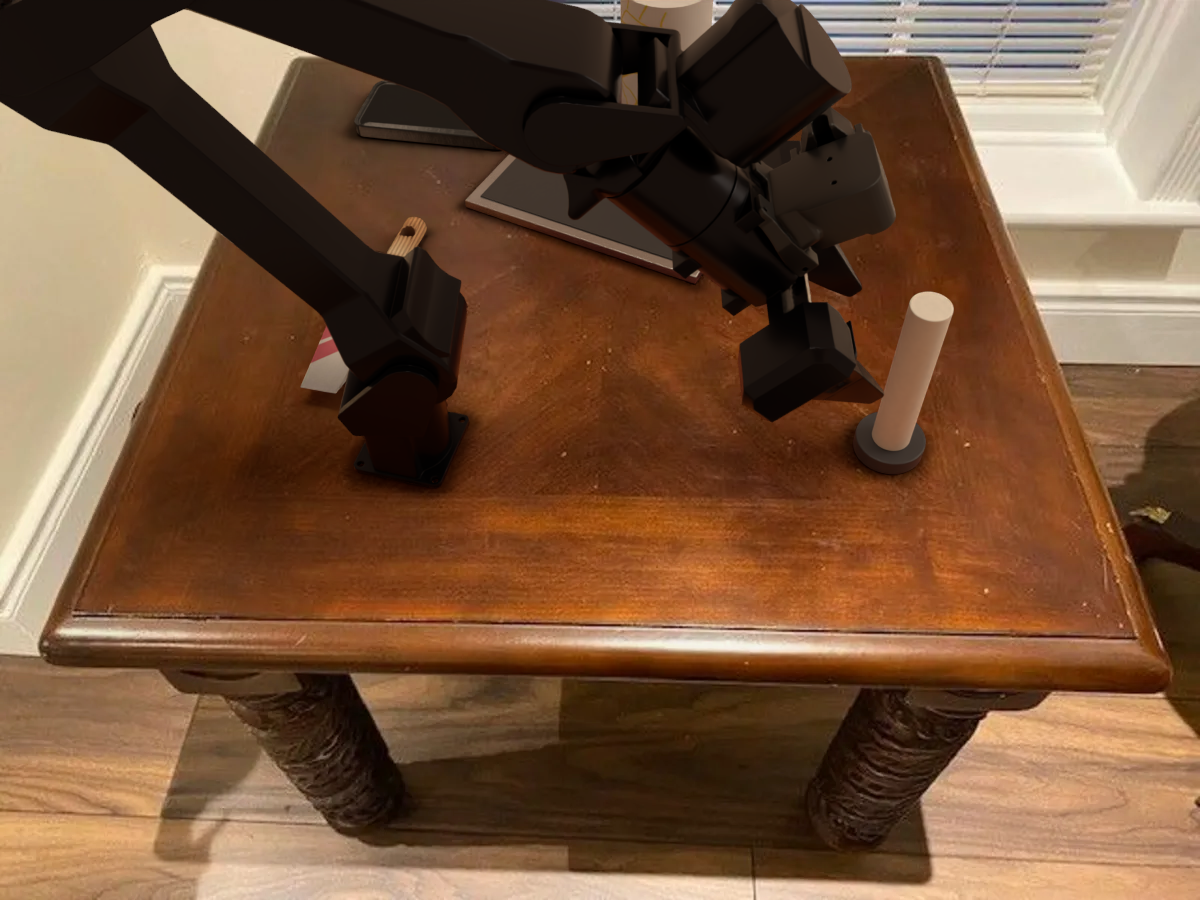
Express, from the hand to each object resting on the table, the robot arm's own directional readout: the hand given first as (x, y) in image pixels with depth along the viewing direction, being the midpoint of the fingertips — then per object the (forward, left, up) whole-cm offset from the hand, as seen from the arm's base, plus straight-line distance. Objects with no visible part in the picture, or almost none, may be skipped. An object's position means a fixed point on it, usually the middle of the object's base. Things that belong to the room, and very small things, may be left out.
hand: (866, 342), depth 64 cm
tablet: (+24, +22, -10) cm, 34 cm away
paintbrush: (+5, +37, -11) cm, 39 cm away
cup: (+38, +21, -11) cm, 45 cm away
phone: (+31, +41, -10) cm, 53 cm away
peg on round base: (+1, -3, -10) cm, 11 cm away
